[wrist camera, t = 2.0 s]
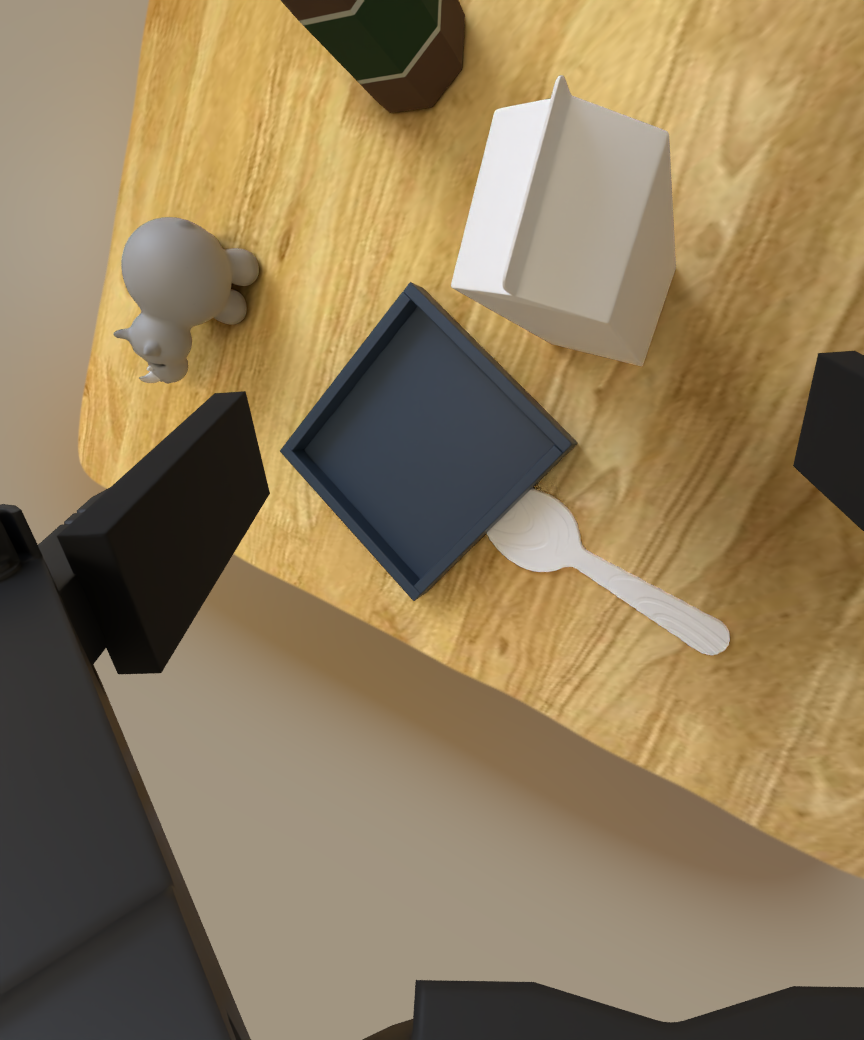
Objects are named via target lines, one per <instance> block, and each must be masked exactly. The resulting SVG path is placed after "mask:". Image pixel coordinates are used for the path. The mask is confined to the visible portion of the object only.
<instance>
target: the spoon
mask: <svg viewBox="0 0 864 1040" xmlns="http://www.w3.org/2000/svg"><path fill="white" fill-rule="evenodd" d="M487 536H488V537H489V539H490V541H492V542H493V544H494V545H495V547H497V549H498V550H499V551H500V552H501V553H502V555H504V556H505V557H506V558H507V559H508V560H510V561H512V562H513V563H515V564H517V565H518V566H520V567H522V568H525V569H528V570H532V571H535V572H551V571H556V570H558V569H560V568H564V567H574V568H576V569H578V570H579V571H580V572H582V573H584V574H585V575H587V576H589V577H590V578H592V580H594V581H596V582H597V583H598V584H599V585H601V586H603V587H605V588H606V589H608V590H610V591H611V593H613V594H615V595H617V597H618V598H620V599H622V600H624V601H625V602H627V603H629V604H630V606H632V607H634V608H636V609H637V611H639V612H641V613H643V614H644V615H646V616H648V618H649V619H651V620H653V621H655V622H656V623H658V625H661V626H662V627H663V628H665V629H667V630H668V632H670V633H672V634H674V635H675V636H677V637H679V638H680V639H681V641H684V642H685V643H687V645H688V646H691V647H693V648H694V649H696V650H698V651H699V652H701V653H702V654H703V653H704V654H706V655H707V654H709V655H714V654H717V653H719V652H723V650H724V651H725V649H726V647H727V646H728V645H729V641H730V633H729V630H728V628H727V626H726V625H725V624H724V623H723V622H722V621H720V620H719V619H717V618H715V617H712V616H711V615H709V614H706V613H704V612H703V611H701V610H699V609H698V608H696V607H694V606H691V605H690V604H688V603H686V602H684V601H683V600H681V599H678V598H677V597H675V596H673V595H670V594H669V593H667V592H665V591H663V590H662V589H660V588H657V587H656V586H654V585H652V584H649V583H648V582H646V581H644V580H643V579H641V578H639V577H636V576H635V575H633V574H631V573H628V572H627V571H625V570H623V569H622V568H620V567H618V566H615V565H614V564H612V563H609V562H608V561H606V560H604V559H603V558H601V557H599V556H596V555H595V554H593V553H591V552H590V551H588V550H586V548H584V546H583V545H582V542H581V536H580V531H579V527H578V523H577V521H576V519H575V517H574V516H573V514H572V513H571V511H570V510H569V509H568V508H567V507H566V506H565V505H564V504H563V503H561V502H560V501H559V500H558V499H557V498H555V497H554V496H552V495H550V494H547V493H544V492H543V491H540V490H539V491H538V490H537V489H534V488H532V489H530V490H529V491H528V492H527V493H526V494H525V495H524V496H523V497H522V498H521V499H520V500H519V501H518V502H517V503H516V504H515V505H514V506H513V507H512V508H511V509H510V510H509V511H508V512H507V513H506V514H505V515H504V516H503V517H502V518H501V519H500V520H499V521H498V522H497V523H496V524H495V525H494V526H493V527H492V528H491V529H490V530H489V531H488V532H487Z"/></svg>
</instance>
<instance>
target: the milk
mask: <svg viewBox="0 0 864 1040" xmlns="http://www.w3.org/2000/svg"><path fill="white" fill-rule="evenodd" d="M675 269H676V256H675V238H674V219H673V200H672V181H671V162H670V143H669V134H668V132H667V131H665V130H663V129H660V128H658V127H655V126H652V125H650V124H647V123H644V122H642V121H639V120H636V119H634V118H631V117H628V116H626V115H623V114H620V113H617V112H615V111H612V110H609V109H607V108H604V107H601V106H599V105H596V104H593V103H590V102H588V101H585V100H582V99H580V98H577V97H574V96H572V95H571V93H570V91H569V88H568V85H567V83H566V80H565V77H564V76H562V75H560V76H558V78H557V79H556V81H555V85H554V88H553V92H552V96H551V98H550V99H545V100H540V101H535V102H530V103H525V104H520V105H514V106H509V107H504V108H500V109H497V110H496V111H495V113H494V116H493V120H492V124H491V128H490V132H489V136H488V140H487V144H486V148H485V152H484V156H483V160H482V164H481V167H480V171H479V175H478V179H477V183H476V187H475V191H474V195H473V199H472V203H471V207H470V211H469V215H468V219H467V223H466V227H465V231H464V235H463V239H462V243H461V247H460V251H459V255H458V259H457V263H456V267H455V271H454V275H453V279H452V283H451V287H452V288H453V289H455V290H457V291H459V292H460V293H462V294H464V295H466V296H468V297H469V298H471V299H473V300H475V301H476V302H478V303H480V304H482V305H483V306H485V307H487V308H489V309H490V310H492V311H494V312H496V313H498V314H499V315H501V316H503V317H505V318H506V319H508V320H510V321H512V322H513V323H515V324H517V325H519V326H520V327H522V328H524V329H526V330H528V331H529V332H531V333H533V334H535V335H536V336H538V337H540V338H542V339H543V340H545V341H547V342H549V343H550V344H553V345H557V346H561V347H565V348H569V349H573V350H577V351H581V352H585V353H589V354H593V355H597V356H601V357H605V358H609V359H614V360H618V361H622V362H626V363H630V364H634V365H638V366H643V364H644V361H645V358H646V355H647V352H648V349H649V346H650V343H651V340H652V337H653V334H654V331H655V328H656V325H657V322H658V319H659V316H660V313H661V311H662V308H663V305H664V302H665V299H666V296H667V293H668V290H669V287H670V284H671V281H672V278H673V275H674V272H675Z"/></svg>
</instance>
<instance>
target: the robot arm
mask: <svg viewBox="0 0 864 1040" xmlns="http://www.w3.org/2000/svg"><path fill="white" fill-rule="evenodd" d="M793 466H794V467H795V468H796V469H797V470H798V471H799V472H800V473H801V474H802V475H803V476H804V477H805V478H807V479H808V480H809V481H810V482H811V483H812V484H813V485H814V486H815V487H816V488H817V489H818V490H819V491H821V492H822V493H823V494H824V495H825V496H826V497H827V498H828V499H829V500H830V501H831V502H832V503H833V504H835V505H836V506H837V507H838V508H839V509H840V510H841V511H842V512H843V513H844V514H845V515H846V516H847V517H849V518H850V519H851V520H852V521H853V522H854V523H855V524H856V525H857V526H858V527H859V528H860V529H861V530H863V531H864V355H862V354H860V353H858V352H856V351H845V352H830V353H818V357H817V362H816V366H815V371H814V375H813V380H812V384H811V389H810V393H809V398H808V402H807V406H806V411H805V415H804V420H803V424H802V429H801V433H800V438H799V442H798V447H797V451H796V456H795V460H794V465H793ZM269 494H270V492H269V488H268V484H267V480H266V475H265V471H264V467H263V463H262V459H261V454H260V450H259V446H258V442H257V438H256V433H255V429H254V425H253V421H252V417H251V412H250V408H249V404H248V400H247V396H246V391H244V392H229V393H215V394H214V395H212V396H211V397H210V398H209V399H208V400H207V401H206V402H205V403H204V404H202V405H201V406H200V407H199V408H198V409H197V410H196V411H195V412H194V413H192V414H191V415H190V416H189V417H188V418H187V419H186V420H185V421H184V422H183V423H181V424H180V425H179V426H178V427H177V428H176V429H175V430H174V431H173V432H171V433H170V434H169V435H168V436H167V437H166V438H165V439H164V440H163V441H161V442H160V443H159V444H158V445H157V446H156V447H155V448H154V449H153V450H151V451H150V452H149V453H148V454H147V455H146V456H145V457H144V458H143V459H141V460H140V461H139V462H138V463H137V464H136V465H135V466H134V467H133V468H132V469H130V470H129V471H128V472H127V473H126V474H125V475H124V476H123V477H122V478H120V479H119V480H118V481H117V482H116V483H115V484H114V485H113V486H112V487H110V488H108V489H106V490H105V491H103V492H101V493H99V494H97V495H95V496H93V497H92V498H91V499H89V500H88V501H87V502H86V503H85V504H84V505H83V506H81V507H80V508H79V509H78V510H77V513H74V514H72V515H71V516H70V517H69V518H68V519H67V520H66V521H65V522H64V525H60V526H59V527H58V528H57V529H55V530H54V531H53V532H52V533H51V534H50V535H49V536H48V537H46V538H45V539H44V540H43V541H42V542H41V543H40V544H38V545H37V543H36V540H35V538H34V536H33V534H32V532H31V530H30V528H29V525H28V523H27V521H26V519H25V517H24V515H23V513H22V510H21V509H19V508H18V507H17V506H14V505H5V504H2V505H0V1040H251V1039H250V1037H249V1034H248V1032H247V1030H246V1027H245V1025H244V1023H243V1020H242V1018H241V1015H240V1013H239V1011H238V1008H237V1006H236V1004H235V1001H234V999H233V996H232V994H231V991H230V989H229V987H228V984H227V982H226V980H225V977H224V975H223V972H222V970H221V968H220V965H219V963H218V960H217V958H216V955H215V953H214V951H213V948H212V946H211V943H210V941H209V939H208V936H207V934H206V932H205V929H204V927H203V924H202V922H201V920H200V917H199V915H198V912H197V910H196V908H195V905H194V903H193V900H192V898H191V896H190V893H189V891H188V888H187V886H186V884H185V881H184V879H183V876H182V874H181V872H180V869H179V867H178V865H177V862H176V860H175V858H174V855H173V853H172V850H171V848H170V845H169V843H168V841H167V838H166V836H165V833H164V831H163V829H162V826H161V824H160V821H159V819H158V817H157V814H156V812H155V810H154V807H153V805H152V802H151V800H150V797H149V795H148V793H147V790H146V788H145V786H144V783H143V781H142V778H141V776H140V774H139V771H138V769H137V766H136V764H135V762H134V759H133V757H132V755H131V752H130V749H129V747H128V745H127V742H126V740H125V737H124V735H123V733H122V730H121V728H120V726H119V723H118V721H117V718H116V716H115V714H114V711H113V709H112V706H111V704H110V702H109V699H108V697H107V695H106V692H105V690H104V687H103V685H102V682H101V680H100V678H99V676H98V674H97V671H96V669H95V667H94V665H93V664H94V662H95V661H96V660H97V659H98V657H99V656H100V655H101V654H102V652H103V651H104V649H105V648H107V650H108V653H109V655H110V657H111V659H112V661H113V664H114V666H115V668H116V671H117V673H118V674H147V673H161V672H162V671H163V669H164V667H165V666H166V664H167V663H168V661H169V659H170V658H171V656H172V654H173V653H174V651H175V649H176V648H177V646H178V644H179V643H180V641H181V639H182V638H183V636H184V634H185V633H186V631H187V629H188V628H189V626H190V625H191V623H192V621H193V619H194V618H195V616H196V615H197V613H198V611H199V610H200V608H201V606H202V604H203V603H204V601H205V600H206V598H207V596H208V595H209V593H210V591H211V590H212V588H213V586H214V585H215V583H216V581H217V580H218V578H219V577H220V575H221V573H222V572H223V570H224V568H225V566H226V565H227V563H228V562H229V560H230V558H231V557H232V555H233V553H234V552H235V550H236V548H237V547H238V545H239V543H240V542H241V540H242V538H243V537H244V535H245V534H246V532H247V530H248V529H249V527H250V525H251V524H252V522H253V520H254V519H255V517H256V515H257V514H258V512H259V510H260V509H261V507H262V505H263V504H264V502H265V500H266V499H267V497H268V495H269ZM413 1017H414V1018H413V1019H411V1020H408V1021H405V1022H401V1023H398V1024H395V1025H392V1026H390V1027H388V1028H386V1029H384V1030H382V1031H379V1032H377V1033H375V1034H373V1035H371V1036H369V1037H367V1038H365V1039H363V1040H864V987H861V988H860V987H802V986H801V987H800V986H797V987H796V986H793V987H790V988H787V989H783V990H780V991H777V992H774V993H771V994H768V995H765V996H761V997H758V998H755V999H752V1000H749V1001H745V1002H742V1003H739V1004H736V1005H732V1006H730V1007H726V1008H723V1009H720V1010H717V1011H713V1012H710V1013H707V1014H704V1015H701V1016H698V1017H694V1018H691V1019H688V1020H685V1021H680V1022H672V1023H670V1022H661V1021H658V1020H654V1019H651V1018H647V1017H644V1016H641V1015H638V1014H635V1013H631V1012H628V1011H625V1010H622V1009H618V1008H615V1007H612V1006H609V1005H605V1004H602V1003H599V1002H596V1001H593V1000H590V999H586V998H583V997H580V996H577V995H574V994H570V993H567V992H564V991H561V990H558V989H554V988H551V987H548V986H545V985H541V984H538V983H535V982H493V981H489V982H488V981H432V980H429V981H428V980H416V985H415V1001H414V1016H413Z"/></svg>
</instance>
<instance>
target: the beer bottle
mask: <svg viewBox="0 0 864 1040" xmlns="http://www.w3.org/2000/svg"><path fill="white" fill-rule="evenodd" d="M281 1H282V2H283V4H284V5H285V6H286V7H287V8H288V9H289V10H290V11H291V13H292V14H293V15H294V16H295V17H296V18H297V19H298V20H299V21H300V23H301V24H302V25H303V26H304V27H305V28H306V29H307V30H308V31H309V32H310V33H311V34H312V35H313V36H314V37H315V38H316V39H317V40H318V41H319V42H320V43H321V44H322V45H323V46H324V47H325V48H326V49H327V50H328V51H329V52H330V53H331V54H332V56H333V57H334V58H335V59H336V60H337V61H338V62H339V63H340V64H341V65H342V66H343V67H344V68H345V69H346V70H347V71H348V72H349V73H350V74H351V75H352V76H353V77H354V78H355V79H356V80H357V81H358V82H359V83H360V84H361V85H362V86H363V88H364V89H365V90H366V91H367V92H368V93H369V94H370V95H371V96H372V97H373V98H374V99H375V100H376V101H377V102H378V103H379V104H380V105H382V106H383V107H384V108H385V109H386V110H388V111H389V112H390V113H393V112H401V111H408V110H415V109H422V108H429V107H432V106H433V105H434V104H435V103H436V101H437V100H438V99H439V98H440V96H441V95H442V94H443V93H444V91H445V90H446V89H447V87H448V86H449V85H450V84H451V82H452V81H453V80H454V79H455V77H456V76H457V75H458V74H459V72H460V71H461V70H462V63H463V42H464V22H465V14H464V12H463V10H462V7H461V5H460V3H459V0H281Z"/></svg>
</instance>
